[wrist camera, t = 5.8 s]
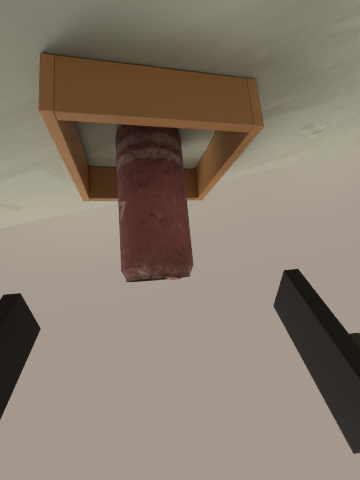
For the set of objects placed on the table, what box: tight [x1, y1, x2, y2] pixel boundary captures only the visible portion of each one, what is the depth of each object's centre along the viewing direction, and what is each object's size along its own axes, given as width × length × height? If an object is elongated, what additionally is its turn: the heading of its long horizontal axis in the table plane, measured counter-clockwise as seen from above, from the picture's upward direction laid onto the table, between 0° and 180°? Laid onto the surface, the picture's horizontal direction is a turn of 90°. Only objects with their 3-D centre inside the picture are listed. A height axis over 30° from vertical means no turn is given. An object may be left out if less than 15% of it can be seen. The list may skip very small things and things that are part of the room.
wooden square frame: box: [39, 53, 264, 201], centre depth 23 cm, size 15×15×4 cm
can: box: [116, 124, 193, 282], centre depth 22 cm, size 6×6×14 cm
